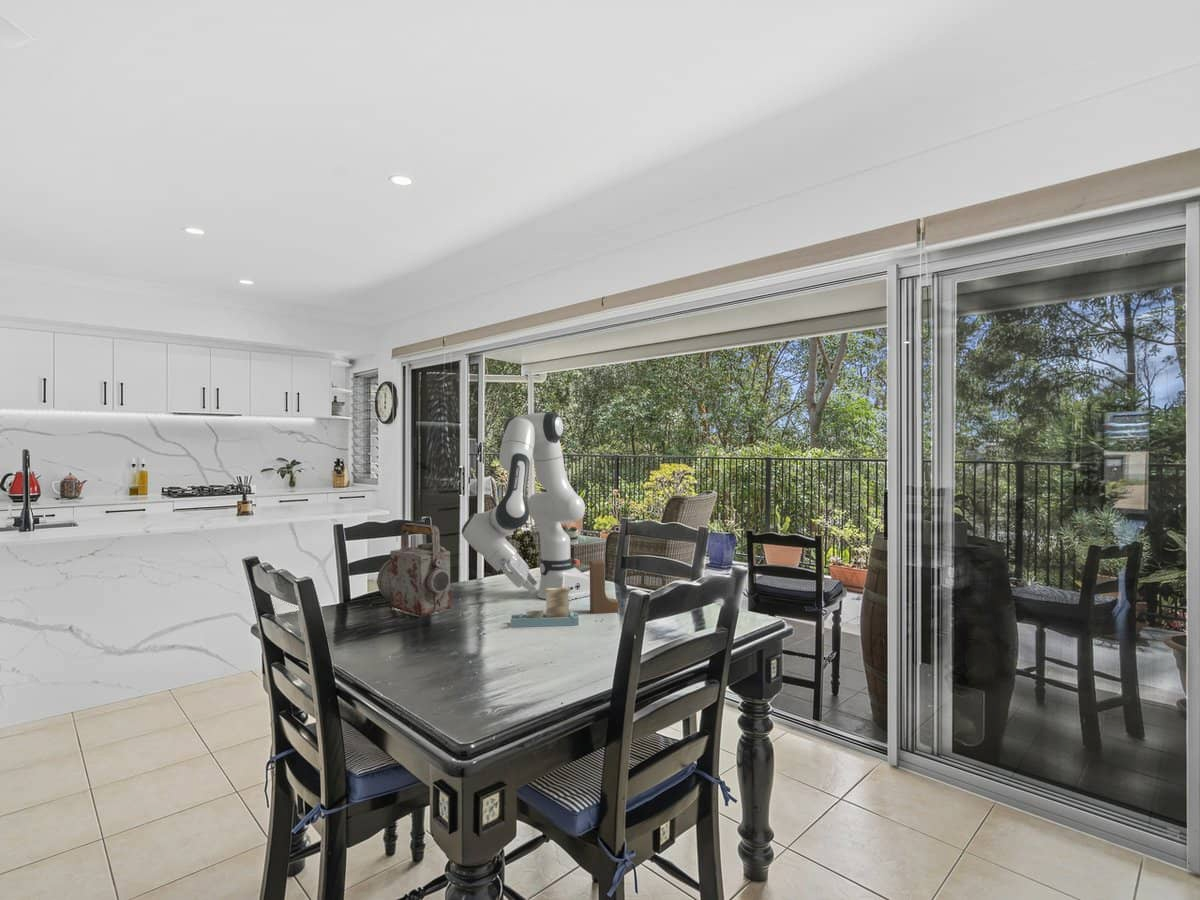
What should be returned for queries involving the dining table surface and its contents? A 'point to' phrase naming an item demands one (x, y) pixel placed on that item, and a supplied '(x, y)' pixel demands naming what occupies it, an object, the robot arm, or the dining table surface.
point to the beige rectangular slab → (557, 602)
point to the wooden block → (600, 590)
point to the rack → (544, 622)
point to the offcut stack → (534, 614)
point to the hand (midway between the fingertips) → (535, 587)
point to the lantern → (417, 574)
